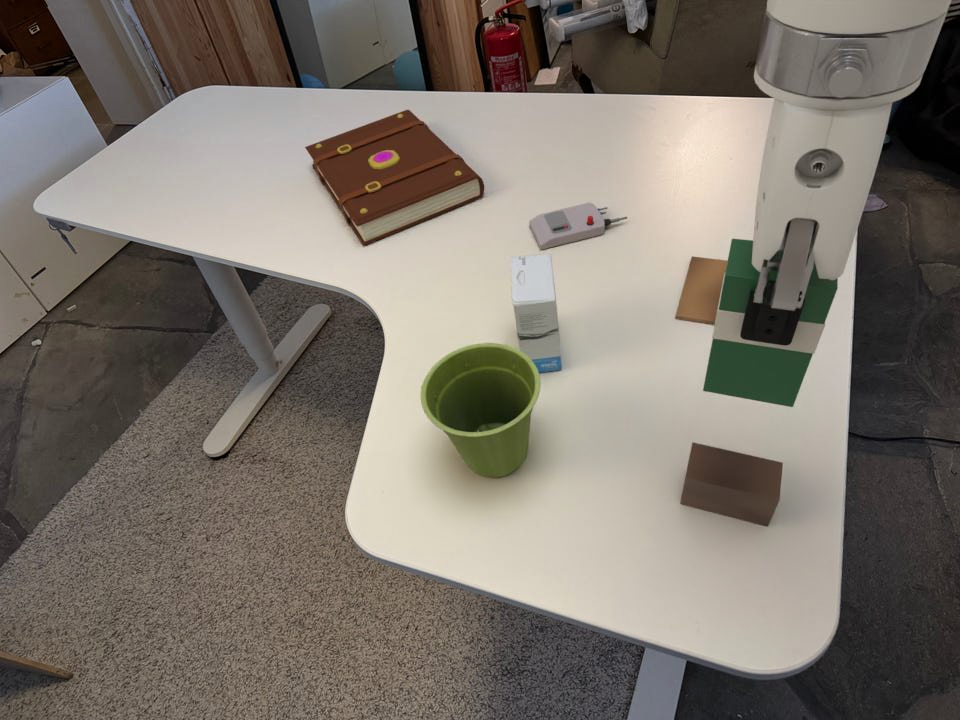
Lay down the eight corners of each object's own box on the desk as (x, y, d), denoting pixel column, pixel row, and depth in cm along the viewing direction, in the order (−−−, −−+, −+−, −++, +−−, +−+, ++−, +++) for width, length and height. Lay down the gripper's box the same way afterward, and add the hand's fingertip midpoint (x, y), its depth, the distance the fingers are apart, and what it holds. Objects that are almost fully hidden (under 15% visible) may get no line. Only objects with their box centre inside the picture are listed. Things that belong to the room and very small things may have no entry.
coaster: (786, 271, 79) (787, 267, 78) (779, 334, 72) (780, 331, 71) (691, 259, 83) (691, 256, 83) (675, 318, 76) (675, 315, 76)
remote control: (518, 228, 94) (516, 212, 92) (614, 204, 94) (615, 188, 92) (528, 253, 89) (526, 237, 87) (630, 228, 90) (631, 211, 88)
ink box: (562, 371, 73) (557, 299, 65) (521, 375, 74) (511, 304, 65) (557, 322, 79) (551, 250, 70) (519, 326, 79) (509, 255, 71)
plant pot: (535, 398, 71) (525, 331, 63) (560, 484, 63) (553, 419, 55) (436, 420, 71) (415, 356, 63) (449, 509, 63) (426, 448, 55)
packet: (719, 299, 51) (733, 226, 40) (805, 310, 49) (846, 236, 38) (701, 395, 50) (710, 347, 38) (789, 412, 47) (828, 366, 36)
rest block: (772, 490, 59) (783, 462, 55) (768, 527, 57) (779, 500, 53) (687, 469, 62) (692, 442, 58) (680, 504, 59) (685, 477, 56)
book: (362, 247, 97) (352, 221, 93) (311, 167, 117) (302, 143, 114) (487, 196, 101) (482, 169, 98) (417, 128, 122) (411, 103, 118)
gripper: (951, 135, 23) (824, 418, 37) (919, -19, 33) (828, 248, 46) (742, 127, 26) (694, 394, 39) (770, -13, 36) (725, 238, 49)
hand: (768, 313), depth 43 cm, fingers closed on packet, 4 cm apart
